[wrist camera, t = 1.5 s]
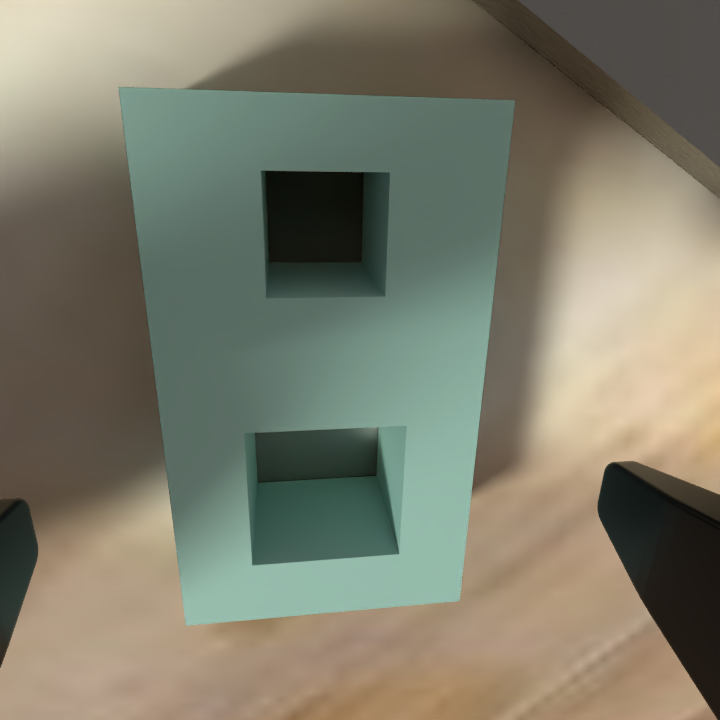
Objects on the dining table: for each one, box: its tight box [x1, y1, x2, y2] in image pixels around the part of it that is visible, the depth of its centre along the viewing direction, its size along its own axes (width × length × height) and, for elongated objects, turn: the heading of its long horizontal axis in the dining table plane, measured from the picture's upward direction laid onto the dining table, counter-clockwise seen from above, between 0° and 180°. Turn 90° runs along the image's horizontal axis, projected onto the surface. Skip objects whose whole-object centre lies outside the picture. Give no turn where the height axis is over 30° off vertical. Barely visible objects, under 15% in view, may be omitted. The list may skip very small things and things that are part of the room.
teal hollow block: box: [119, 87, 515, 626], centre depth 14 cm, size 12×7×4 cm, turn 179°
